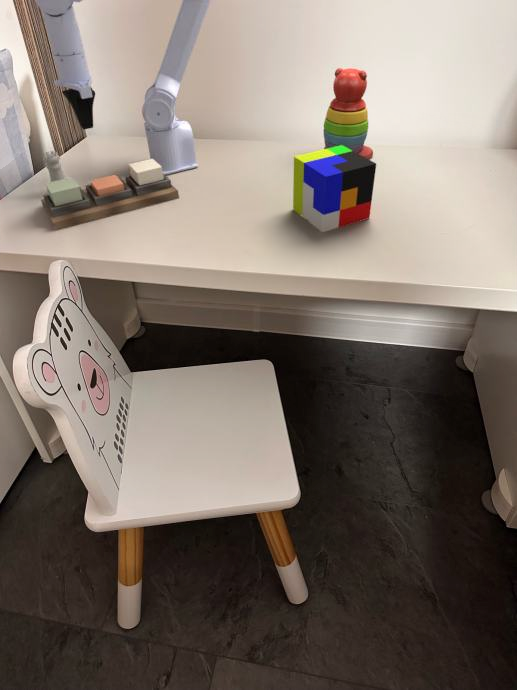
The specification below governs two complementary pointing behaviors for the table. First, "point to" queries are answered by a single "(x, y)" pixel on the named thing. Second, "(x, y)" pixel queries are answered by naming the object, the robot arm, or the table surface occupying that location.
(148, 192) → the button board
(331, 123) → the stacking bear
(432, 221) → the table surface
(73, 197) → the sage button
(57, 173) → the rook chess piece
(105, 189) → the terracotta button
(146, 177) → the cream button
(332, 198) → the puzzle toy
